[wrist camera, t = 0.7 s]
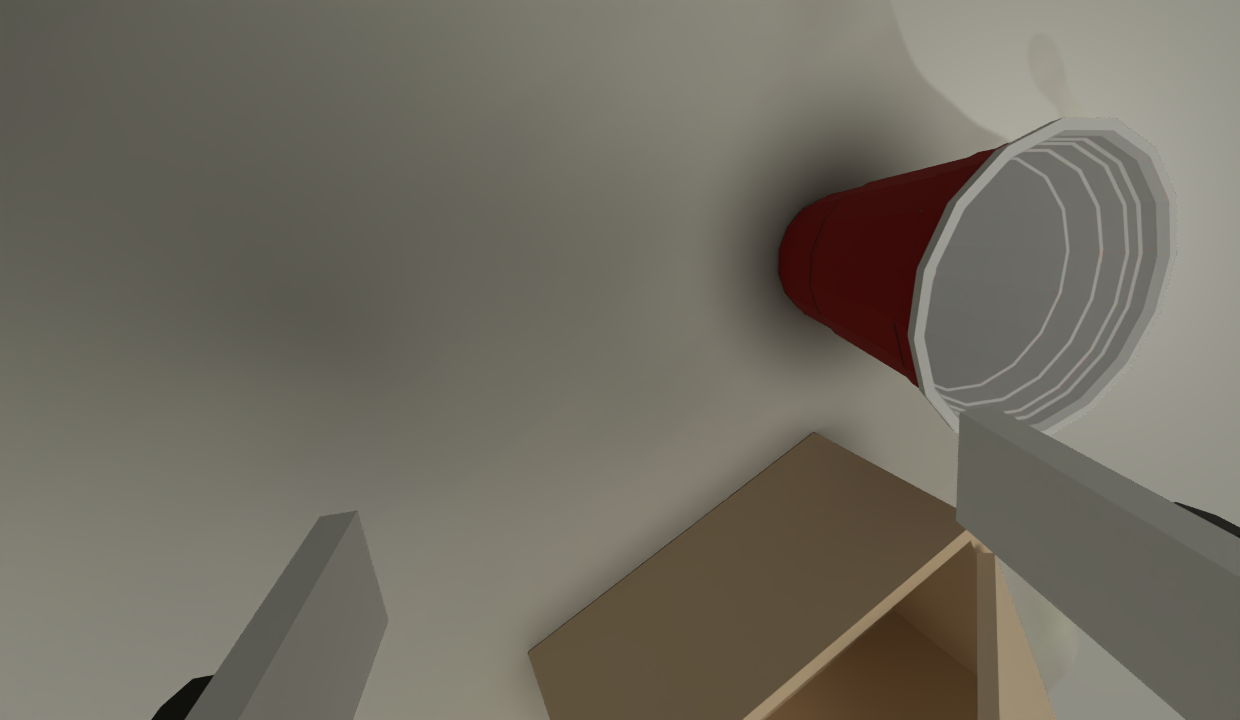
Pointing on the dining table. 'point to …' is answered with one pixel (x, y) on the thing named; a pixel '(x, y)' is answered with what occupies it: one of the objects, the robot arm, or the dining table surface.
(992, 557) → the flap
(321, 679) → the robot arm
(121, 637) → the dining table surface
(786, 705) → the carton
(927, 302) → the plastic cup
